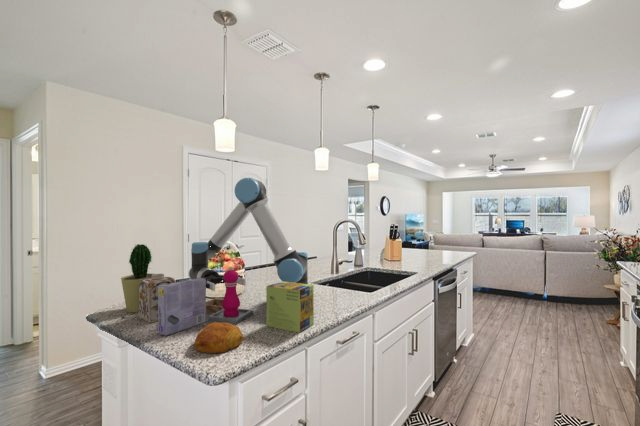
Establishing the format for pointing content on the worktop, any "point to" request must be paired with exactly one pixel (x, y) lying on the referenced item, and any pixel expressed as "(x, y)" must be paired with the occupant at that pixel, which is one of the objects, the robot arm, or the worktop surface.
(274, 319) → the protein box
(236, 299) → the pepper mill
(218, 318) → the tray
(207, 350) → the bread pastry
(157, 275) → the decorative jar
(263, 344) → the worktop surface
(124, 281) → the potted cactus
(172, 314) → the cake pan box
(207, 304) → the tray
